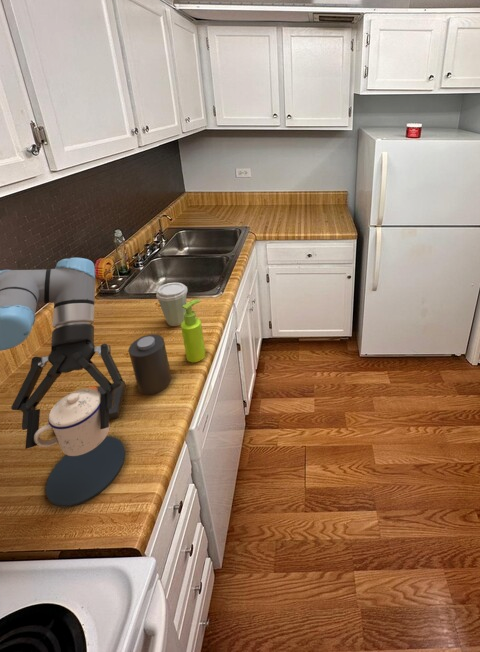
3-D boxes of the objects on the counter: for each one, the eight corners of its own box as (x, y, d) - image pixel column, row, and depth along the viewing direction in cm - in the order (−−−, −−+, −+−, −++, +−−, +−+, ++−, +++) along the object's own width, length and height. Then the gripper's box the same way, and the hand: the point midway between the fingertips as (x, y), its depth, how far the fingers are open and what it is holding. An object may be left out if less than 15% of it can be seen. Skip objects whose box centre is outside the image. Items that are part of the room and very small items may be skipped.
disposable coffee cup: (178, 310, 132) (172, 277, 126) (198, 317, 127) (193, 283, 122) (155, 325, 123) (148, 290, 117) (176, 333, 119) (170, 298, 113)
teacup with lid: (107, 410, 76) (95, 371, 72) (114, 440, 70) (101, 399, 65) (42, 441, 69) (24, 400, 65) (42, 477, 63) (23, 435, 58)
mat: (34, 518, 66) (33, 516, 66) (60, 449, 79) (59, 447, 79) (118, 491, 71) (117, 490, 71) (130, 430, 84) (129, 428, 84)
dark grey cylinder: (136, 398, 93) (124, 356, 87) (141, 370, 102) (131, 330, 97) (170, 390, 96) (162, 348, 90) (172, 363, 105) (165, 324, 100)
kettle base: (55, 433, 83) (51, 422, 82) (70, 398, 93) (66, 388, 91) (118, 417, 87) (115, 406, 86) (126, 385, 97) (123, 375, 96)
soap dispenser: (211, 352, 110) (204, 301, 103) (194, 365, 105) (185, 312, 97) (200, 345, 113) (192, 295, 106) (182, 357, 108) (173, 305, 100)
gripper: (137, 319, 80) (140, 418, 73) (17, 340, 73) (6, 452, 65) (129, 313, 74) (131, 421, 66) (-4, 335, 66) (-20, 460, 59)
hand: (69, 437), depth 66 cm, fingers closed on teacup with lid, 12 cm apart
